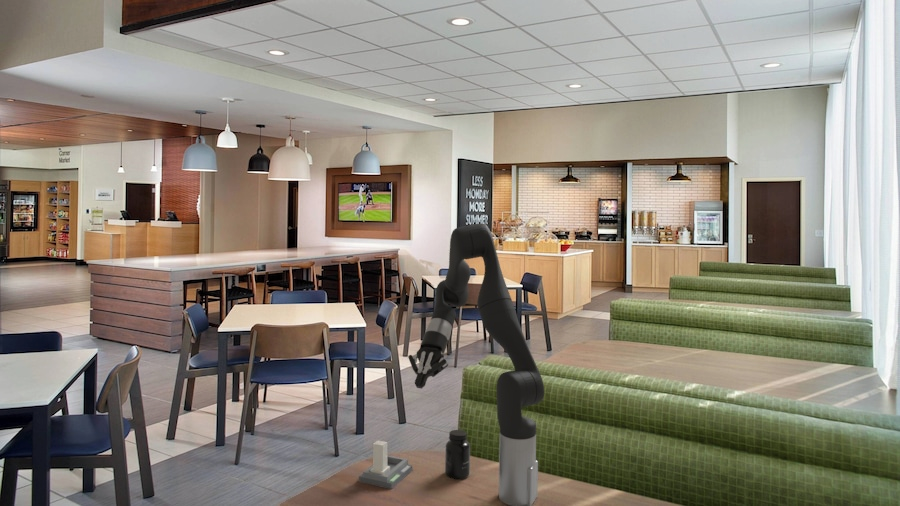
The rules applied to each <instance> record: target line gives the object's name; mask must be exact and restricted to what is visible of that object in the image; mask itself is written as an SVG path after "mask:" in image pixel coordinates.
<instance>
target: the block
mask: <svg viewBox="0 0 900 506" xmlns="http://www.w3.org/2000/svg"><path fill="white" fill-rule="evenodd" d="M372 445H373V446H372V450H373V451H372V452H373V453H372V462H373V464H372V465H373V468H372V469H371V470H370V472H373V473H378V474H382V475H385V474H387V473H388V472H389V471H390V466H387V455H388V442H387V441H382V440H376V441H375V442H374V443H372Z"/></svg>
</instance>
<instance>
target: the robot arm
mask: <svg viewBox="0 0 900 506" xmlns="http://www.w3.org/2000/svg"><path fill="white" fill-rule="evenodd" d="M448 256H449V258H448V259H449V261H448V269H447V273H446V275H445V279H443V280H441V281H439V283H438V284H437V286H436V289H435V290H436V291H435V306H434V309H433V310H434V311H433V313H432V315H431V319H430V322H429V323H428V324H427V327H426V329H425V332H424V335H423V337H422V340H421V343H420V346H419V349H418V350H417V351H416V354H414V355H412V354H409V355H408V356H407V357H408V358H407V359H408V360H409V363H410V365H411V368H412V371H414V373H415V375H416V376H415V380H414V385H415V387H416V388H417V389H423V388H424V387H425V386H426V384H427V381H428V378H429V377H433V378H434V377H436V376H437V375H439V374H440V373H441V372H442V371H443V370H445V369H446V368H447V367H448V366H449V363H448V361H447V360H446V359H445V356H444V354H445V353H446V352H445V351H446V348H447V346H448V344H449V340H450V338H451V333H452V329H453V326H454V322H455V321H456V320H455V319H456V316H457V312H456V310H455V309H454V308H453V307H456V308H462V307H465V305H466V304H467V302H468V300H469V294H470V293H469V287H468V284H469V282H470V278H471V274H472V273H471V272H472V271H471V267H470V265H469V264H468V262H467V261H466V260H471V259H476V258H482V260H483V264H484V274H483V279H482V283H481V286H480V289H479V292H478V296H477V302H476V303H477V304H476V305H477V309H478V313H479V316H480V319H481V321H482V322H481V323H482V324H483V327H484V329H485V330H486V332H487V333H488V334H489V336H490V337H492V339H494V340H495V341H496V342H497V344H498V345H499V346H501V348H502V349H503V350H504V351H505V352H506V354H507V356H508V357H509V359H510V361H511V363H512V365H513V367H514V370H509V371H504V372H503V373H501V374H500V375H499V376H498V378H497V381H496V409H497V410H496V412H497V413H496V414H497V422H498V425H499V446H498V447H499V450H498V451H499V452H498V453H499V458H498V460H499V461H498V463H499V464H498V466H499V467H498V498H499V501H500V502H501V503H503V504H505V505H508V506H532V505H533V503H534V502H535V501H536V499H537V498H538V484H539V481H538V480H539V479H538V476H539V475H538V474H539V461H538V460H537V423H536V422H535V421H534V420H533V419H532V418H530V417H527V416H524V415H522V408H525V407H528V406H533V405H538V404H539V403H541V402H542V401H543V400H544V396H545V386H544V381H543V377H542V375H541V373H540V370H539V369H538V366H537V363H536V362H535V359H534V357H533V355H532V353H531V351H530V347H529V346H528V343H527V341H526V338H525V336H524V332H523V329H522V327H521V324H520V322H519V319H518V315H517V312H516V308H515V306H514V303H513V299H512V297H511V295H510V291H509V289H508V286H507V284H506V280H505V279H504V274H503V272H502V269H501V264H500V262H499V257H498V253H497V249H496V246H495V242H494V239H493V234H492V232H491V229H490V227H489V226H488V225H487V224H486V223H475V224H470V225H464V226H459V227H456V228H454V229H453V230H452V231H451V236H450V241H449V255H448ZM450 305H451V306H452V307H451V306H450ZM417 362H419V363H418V365H417Z"/></svg>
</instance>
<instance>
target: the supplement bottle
mask: <svg viewBox="0 0 900 506" xmlns="http://www.w3.org/2000/svg"><path fill="white" fill-rule="evenodd" d="M467 435H468V433H467V431H465V430H464V429H452V430H451V431H449V437H448V441H447V442H446V443H445V458H444V459H445V462H444V463H445V464H444V466H445V467H444V471H445V476H447V478H449V479H452V480H463V479H466V478H468V477H469V476H470V471H471V469H470V468H471V467H470V466H471V443H469V441H468V436H467Z"/></svg>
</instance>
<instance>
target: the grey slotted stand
mask: <svg viewBox="0 0 900 506" xmlns="http://www.w3.org/2000/svg"><path fill="white" fill-rule="evenodd" d="M387 466H390V471H389V472H388V473H387V474H385V475H382V474H378V473H373V472H370V470H371V469H372V468H373V464H371V465H370V466H369V467H368V468H366V469H365V470H364V471H362V473H361V474H360V475H359V476H358V482H359V483H363V484H367V485H372V486H377V487H381V488H386V489H389V490H392V489H393V488H394V487H396V485H398V484H399V483H400V482H402V481H403V479H405V478H406V477H408V475H409V474H410V473H411V472H413V464H412V465H411V464H409V459H407V458H404V457H398V456H393V455H388V454H387Z"/></svg>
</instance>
